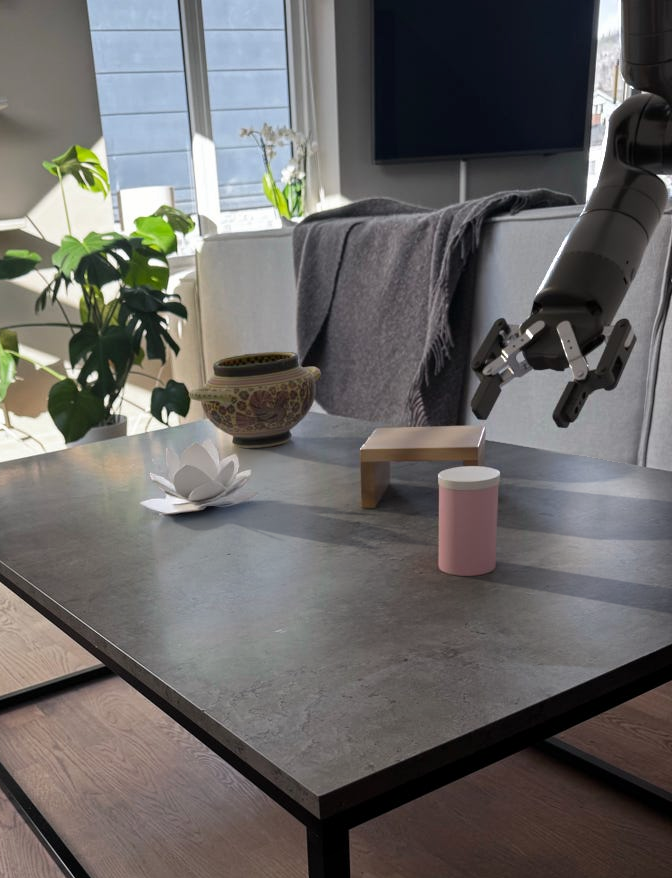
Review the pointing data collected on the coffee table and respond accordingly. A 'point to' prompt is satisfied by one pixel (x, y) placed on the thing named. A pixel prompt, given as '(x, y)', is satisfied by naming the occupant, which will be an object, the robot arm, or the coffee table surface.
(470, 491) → the tube
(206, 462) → the lotus flower
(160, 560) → the coffee table surface
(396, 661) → the coffee table surface
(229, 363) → the ceramic bowl
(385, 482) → the shelf stand
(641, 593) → the coffee table surface
